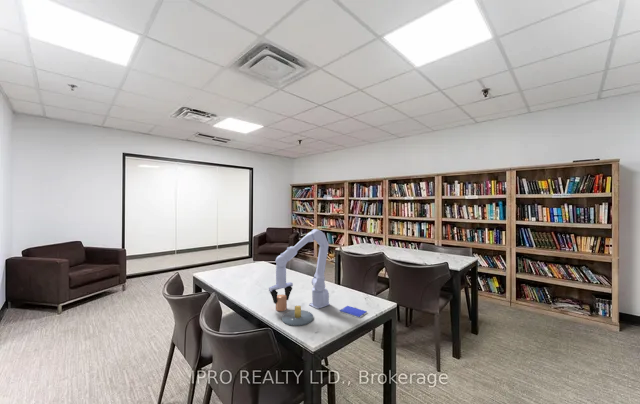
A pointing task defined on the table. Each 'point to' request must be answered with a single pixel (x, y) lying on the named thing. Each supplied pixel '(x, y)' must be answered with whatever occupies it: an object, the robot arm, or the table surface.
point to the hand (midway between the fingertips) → (281, 301)
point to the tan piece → (281, 303)
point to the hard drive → (353, 311)
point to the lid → (291, 320)
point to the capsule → (297, 311)
